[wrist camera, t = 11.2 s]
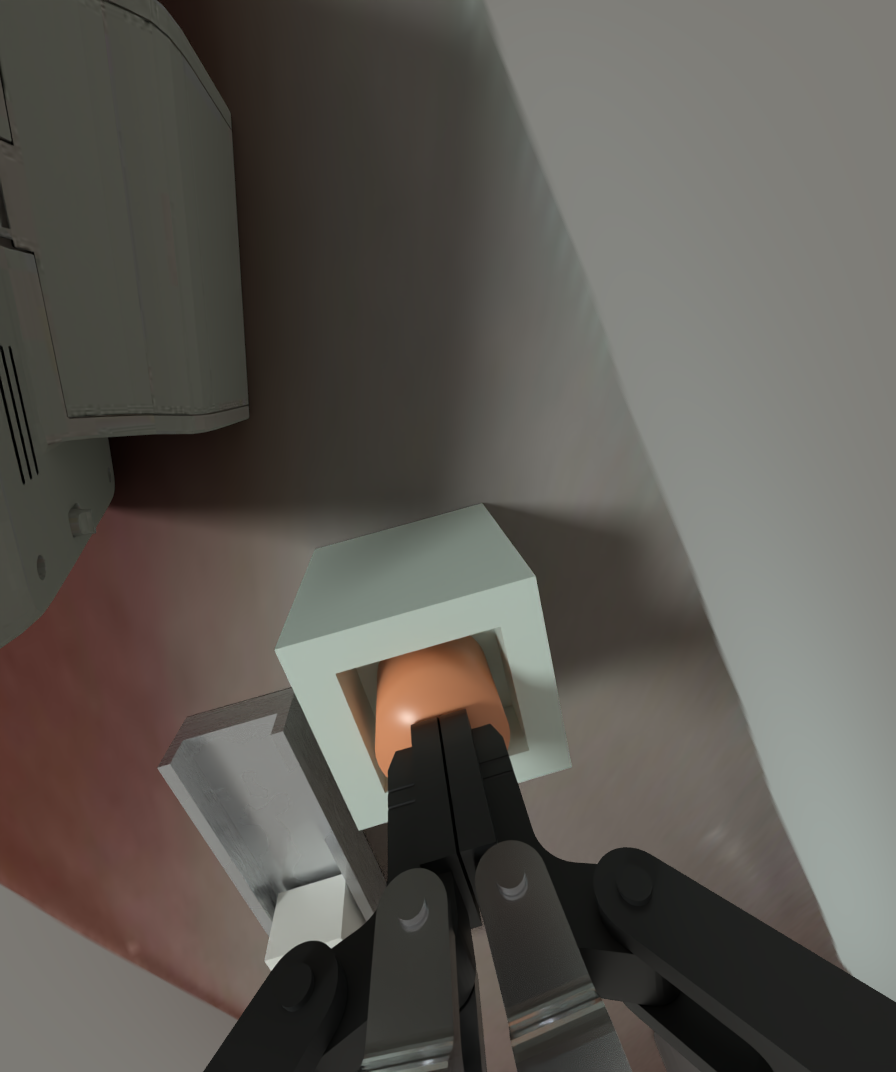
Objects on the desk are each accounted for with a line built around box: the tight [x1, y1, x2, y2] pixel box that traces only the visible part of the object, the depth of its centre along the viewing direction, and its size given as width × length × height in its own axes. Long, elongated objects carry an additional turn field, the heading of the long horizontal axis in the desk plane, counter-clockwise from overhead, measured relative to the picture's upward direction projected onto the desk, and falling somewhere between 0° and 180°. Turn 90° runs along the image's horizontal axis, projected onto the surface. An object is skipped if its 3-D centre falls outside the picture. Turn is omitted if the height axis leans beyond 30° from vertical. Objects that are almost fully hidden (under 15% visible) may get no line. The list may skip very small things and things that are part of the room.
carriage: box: [265, 874, 366, 971], centre depth 19 cm, size 8×4×10 cm, turn 14°
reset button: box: [375, 635, 510, 778], centre depth 13 cm, size 4×4×3 cm
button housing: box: [274, 503, 572, 831], centre depth 16 cm, size 7×7×7 cm
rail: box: [157, 688, 387, 937], centre depth 22 cm, size 17×5×3 cm, turn 14°
